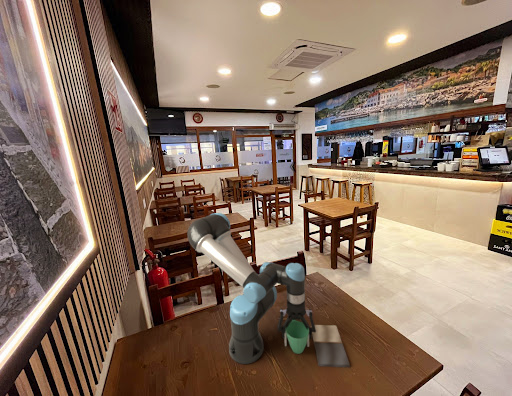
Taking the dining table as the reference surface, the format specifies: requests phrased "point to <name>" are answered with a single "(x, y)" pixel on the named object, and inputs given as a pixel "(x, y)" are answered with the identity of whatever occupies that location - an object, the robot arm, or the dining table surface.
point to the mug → (297, 336)
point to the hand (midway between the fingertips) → (296, 343)
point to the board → (329, 347)
